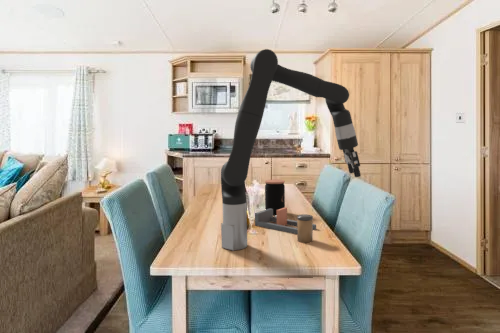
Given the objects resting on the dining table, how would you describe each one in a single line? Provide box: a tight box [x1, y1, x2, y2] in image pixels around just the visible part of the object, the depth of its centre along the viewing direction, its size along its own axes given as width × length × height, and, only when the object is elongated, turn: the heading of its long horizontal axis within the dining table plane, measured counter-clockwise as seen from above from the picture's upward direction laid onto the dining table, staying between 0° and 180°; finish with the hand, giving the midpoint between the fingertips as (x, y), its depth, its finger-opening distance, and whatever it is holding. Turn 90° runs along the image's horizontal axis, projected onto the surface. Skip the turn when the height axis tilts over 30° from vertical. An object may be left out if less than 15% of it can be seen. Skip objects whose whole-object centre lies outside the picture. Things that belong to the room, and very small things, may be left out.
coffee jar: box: [264, 179, 286, 216], centre depth 174 cm, size 11×11×18 cm
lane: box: [254, 208, 317, 235], centre depth 148 cm, size 26×12×6 cm, turn 50°
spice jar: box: [296, 213, 314, 244], centre depth 129 cm, size 6×6×10 cm
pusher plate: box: [274, 206, 288, 226], centre depth 150 cm, size 4×7×8 cm, turn 140°
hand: (355, 174), depth 130 cm, fingers open, 8 cm apart
